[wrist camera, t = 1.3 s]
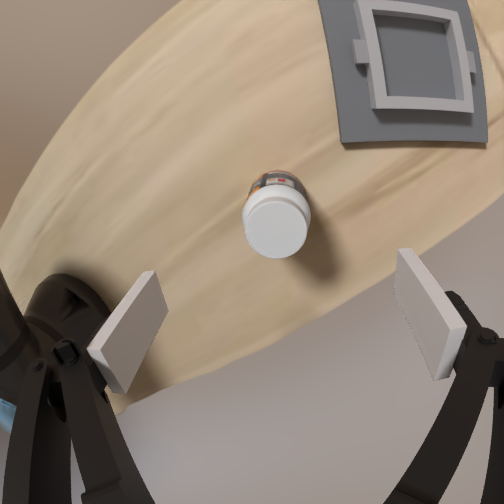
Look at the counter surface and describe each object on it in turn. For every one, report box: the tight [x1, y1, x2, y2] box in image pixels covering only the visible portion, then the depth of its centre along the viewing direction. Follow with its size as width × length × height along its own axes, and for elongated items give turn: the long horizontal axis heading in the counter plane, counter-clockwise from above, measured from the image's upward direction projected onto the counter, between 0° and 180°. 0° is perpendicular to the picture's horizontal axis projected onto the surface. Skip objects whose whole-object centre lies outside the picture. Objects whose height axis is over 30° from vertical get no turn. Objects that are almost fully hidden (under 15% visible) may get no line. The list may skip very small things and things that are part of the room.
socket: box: [318, 0, 488, 143], centre depth 22 cm, size 18×18×3 cm
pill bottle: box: [242, 170, 311, 259], centre depth 27 cm, size 6×6×10 cm
